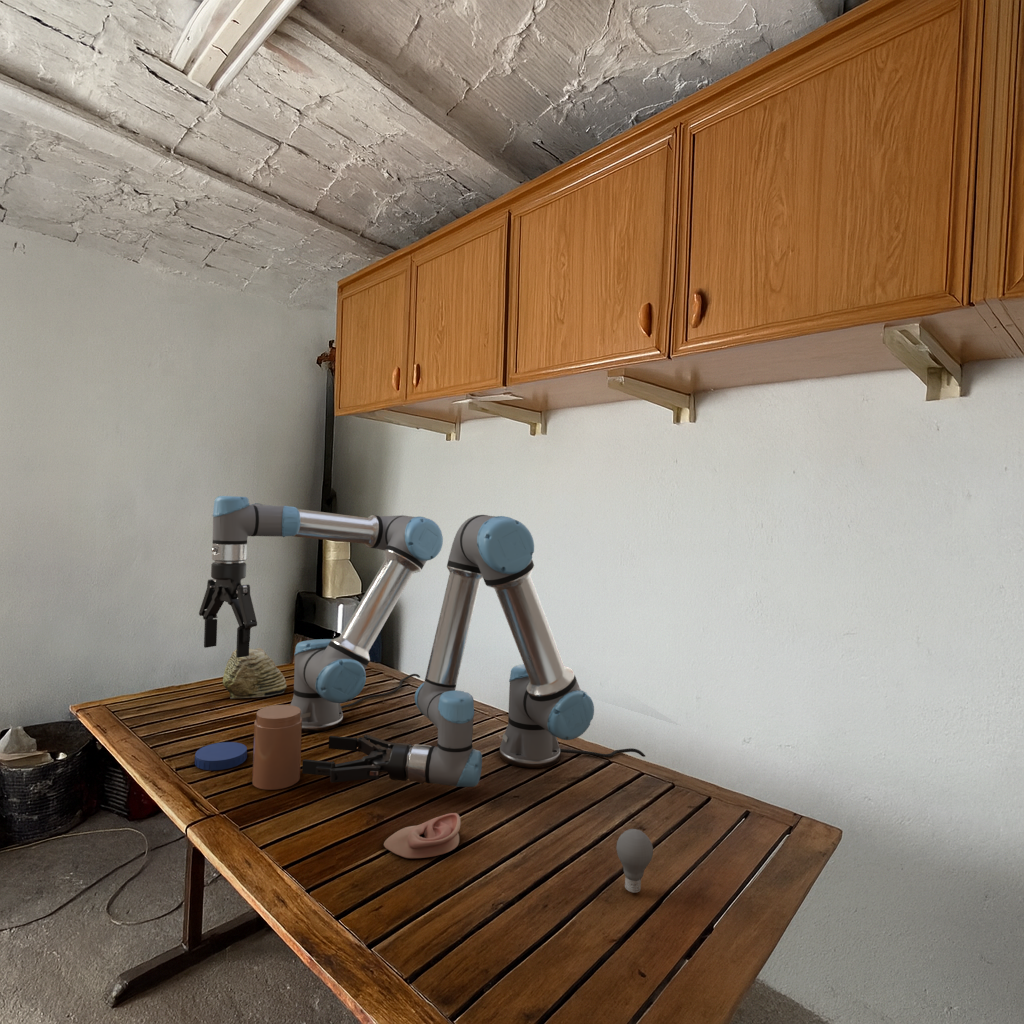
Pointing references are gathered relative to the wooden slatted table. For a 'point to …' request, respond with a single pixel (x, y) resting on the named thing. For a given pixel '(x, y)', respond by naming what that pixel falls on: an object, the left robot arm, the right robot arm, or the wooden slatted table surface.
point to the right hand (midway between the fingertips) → (316, 753)
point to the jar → (277, 747)
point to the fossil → (253, 676)
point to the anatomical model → (426, 838)
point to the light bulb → (634, 857)
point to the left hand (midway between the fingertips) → (225, 651)
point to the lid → (220, 756)
